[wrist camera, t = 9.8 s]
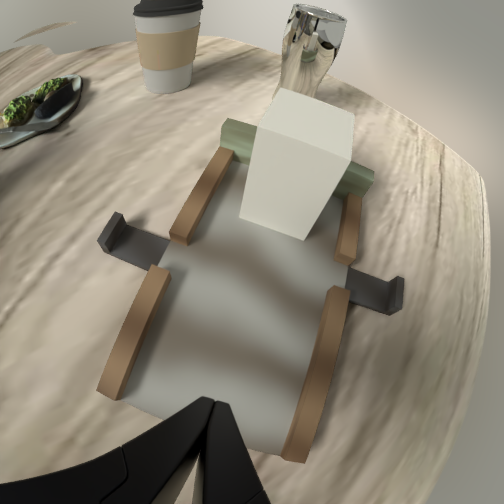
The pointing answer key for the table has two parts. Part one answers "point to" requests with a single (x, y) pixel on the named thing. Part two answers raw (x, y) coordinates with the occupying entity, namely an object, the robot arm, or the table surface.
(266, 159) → the block
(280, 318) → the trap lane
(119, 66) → the table surface
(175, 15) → the coffee cup
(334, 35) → the beer glass
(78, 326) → the table surface
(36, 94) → the salad plate
